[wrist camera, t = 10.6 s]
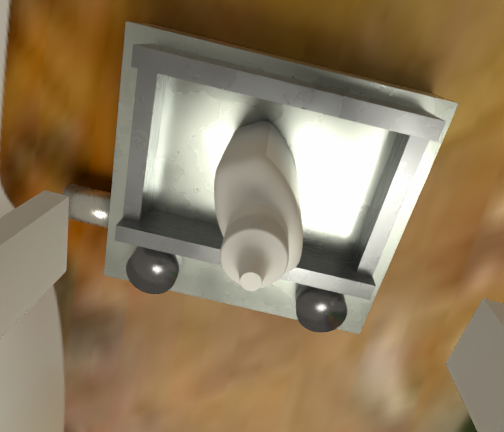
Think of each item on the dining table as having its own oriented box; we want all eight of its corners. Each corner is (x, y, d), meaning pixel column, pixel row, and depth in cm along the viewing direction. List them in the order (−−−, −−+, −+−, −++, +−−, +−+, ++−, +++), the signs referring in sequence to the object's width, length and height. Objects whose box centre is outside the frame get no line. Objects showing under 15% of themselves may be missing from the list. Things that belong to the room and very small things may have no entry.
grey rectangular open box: (92, 9, 25) (25, -1, 18) (433, 93, 25) (484, 113, 19) (80, 236, 31) (28, 288, 25) (350, 299, 32) (367, 366, 25)
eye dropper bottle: (314, 128, 23) (343, 214, 12) (292, 218, 25) (298, 361, 14) (237, 113, 22) (192, 186, 12) (222, 204, 25) (174, 337, 14)
